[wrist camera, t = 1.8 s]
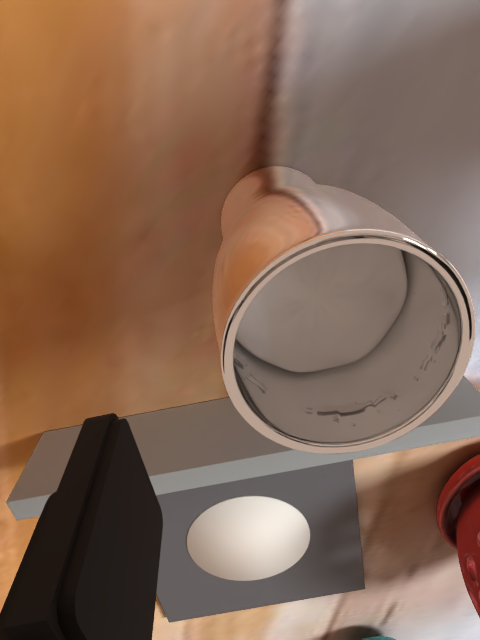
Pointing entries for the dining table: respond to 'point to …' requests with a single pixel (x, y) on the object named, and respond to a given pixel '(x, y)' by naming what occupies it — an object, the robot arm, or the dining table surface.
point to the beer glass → (333, 316)
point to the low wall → (222, 448)
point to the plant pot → (463, 522)
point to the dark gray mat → (259, 542)
